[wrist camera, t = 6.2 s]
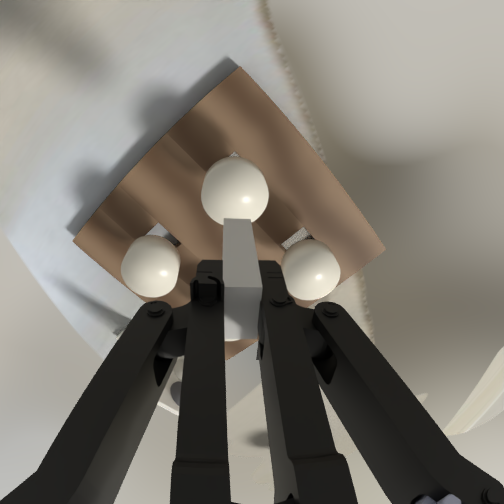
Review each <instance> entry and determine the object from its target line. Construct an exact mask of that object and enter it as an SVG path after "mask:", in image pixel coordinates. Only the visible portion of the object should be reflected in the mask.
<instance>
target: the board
mask: <svg viewBox="0 0 504 504" xmlns="http://www.w3.org/2000/svg"><path fill="white" fill-rule="evenodd" d="M234 151H235V152H236V153H237V154H238V155H239V156H240V157H243V158H246V159H248V160H250V161H252V162H253V163H255V164H256V165H257V166H258V167H259V168H260V170H261V171H262V173H263V176H264V178H265V181H266V184H267V187H268V192H269V198H268V203H267V206H266V208H265V210H264V212H263V213H262V214H261V216H260V217H259V218H257V219H256V220H255V221H253V222H252V223H251V224H252V229H253V235H254V241H255V247H256V252H257V258H258V260H275V261H276V262H277V263H278V264H279V265H280V266H281V260H282V257H283V255H284V253H285V252H286V249H285V248H284V247H283V246H282V245H281V244H282V243H283V242H284V241H286V240H287V239H288V238H289V237H291V236H292V235H293V234H295V233H296V232H297V231H298V230H300V229H301V228H302V227H305V228H306V230H307V231H308V232H309V233H310V234H311V235H312V236H313V238H314V239H315V240H319V241H321V242H323V243H325V244H326V245H327V246H328V247H329V248H330V250H331V251H332V253H333V255H334V257H335V259H336V261H337V262H338V264H339V267H340V279H339V281H338V283H337V285H336V287H337V286H338V285H339V284H341V283H342V282H343V281H345V280H346V279H348V278H349V277H350V276H352V275H353V274H354V273H356V272H357V271H358V270H360V269H361V268H362V267H364V266H365V265H366V264H367V263H369V262H370V261H371V260H373V259H374V258H375V257H377V256H378V255H379V254H381V253H382V252H383V251H385V250H386V248H385V247H384V245H383V244H382V242H381V241H380V239H379V238H378V236H377V235H376V233H375V232H374V231H373V229H372V228H371V226H370V225H369V223H368V222H367V220H366V219H365V217H364V216H363V215H362V213H361V212H360V210H359V209H358V208H357V206H356V205H355V203H354V202H353V201H352V199H351V198H350V197H349V195H348V194H347V192H346V191H345V190H344V189H343V187H342V186H341V184H340V183H339V182H338V180H337V179H336V178H335V176H334V175H333V174H332V172H331V171H330V170H329V169H328V167H327V166H326V165H325V163H324V162H323V161H322V160H321V158H320V157H319V156H318V155H317V153H316V152H315V151H314V150H313V148H312V147H311V146H310V145H309V143H308V142H307V141H306V140H305V138H304V137H303V136H302V135H301V134H300V132H299V131H298V130H297V129H296V128H295V126H294V125H293V124H292V123H291V122H290V121H289V119H288V118H287V117H286V116H285V115H284V114H283V112H282V111H281V110H280V109H279V108H278V107H277V106H276V104H275V103H274V102H273V101H272V100H271V99H270V98H269V97H268V95H267V94H266V93H265V92H264V91H263V90H262V89H261V88H260V87H259V86H258V84H257V83H256V82H255V81H254V80H253V79H252V78H251V77H250V76H249V75H248V74H247V73H246V72H245V71H244V70H243V69H242V67H241V66H240V67H239V68H238V69H236V70H235V71H234V72H233V73H231V74H230V75H229V76H228V77H227V78H226V79H224V80H223V81H222V82H221V83H220V84H219V85H217V86H216V87H215V88H214V89H213V90H212V91H211V92H209V93H208V94H207V95H206V96H205V97H204V98H203V99H202V100H200V101H199V102H198V103H197V104H196V105H195V106H194V107H193V108H192V109H191V110H190V111H189V112H188V113H186V114H185V115H184V116H183V117H182V118H181V119H180V120H179V121H178V122H177V123H176V124H175V125H174V126H173V127H172V128H171V129H170V130H169V131H168V132H167V133H166V134H165V135H164V136H163V137H162V138H161V139H160V140H159V141H158V142H157V143H156V144H155V145H154V146H153V147H152V148H151V149H150V150H149V151H148V152H147V153H146V154H145V155H144V157H143V158H142V159H141V160H140V161H139V162H138V163H137V164H136V165H135V166H134V167H133V168H132V170H131V171H130V172H129V173H128V174H127V175H126V176H125V177H124V178H123V180H122V181H121V182H120V183H119V184H118V185H117V186H116V188H115V189H114V190H113V191H112V192H111V193H110V195H109V196H108V197H107V198H106V199H105V201H104V202H103V203H102V204H101V205H100V207H99V208H98V209H97V210H96V211H95V213H94V214H93V215H92V216H91V218H90V219H89V220H88V221H87V223H86V224H85V225H84V226H83V228H82V229H81V230H80V232H79V233H78V234H77V236H76V237H75V238H74V240H73V242H74V243H75V244H76V245H77V246H78V247H79V248H80V249H82V250H83V251H84V252H85V253H86V254H87V255H88V256H90V257H91V258H92V259H93V260H94V261H95V262H97V263H98V264H99V265H100V266H101V267H103V268H104V269H105V270H106V271H107V272H109V273H110V274H111V275H112V276H113V277H115V278H116V279H117V280H118V281H119V282H121V283H122V284H123V285H124V286H126V287H127V288H128V289H129V290H131V289H130V288H129V287H128V286H127V285H126V283H125V282H124V280H123V278H122V275H121V264H122V261H123V259H124V257H125V255H126V253H127V251H128V249H129V247H130V246H131V244H132V243H133V242H134V241H135V240H136V239H138V238H139V237H142V236H145V235H146V234H147V233H148V232H149V231H150V230H151V229H152V228H153V227H154V226H155V225H156V224H157V223H158V222H159V223H160V224H161V225H162V226H163V227H164V228H165V229H166V230H167V231H169V232H170V233H171V234H172V235H173V236H174V237H175V238H176V239H177V240H179V242H178V243H177V244H176V245H175V247H176V249H177V250H178V253H179V255H180V268H179V272H178V277H177V281H176V284H175V286H174V288H173V289H172V290H171V291H170V292H169V293H167V294H166V295H163V296H160V297H145V296H142V295H139V294H137V293H135V292H134V291H132V290H131V291H132V292H133V293H134V294H136V295H137V296H138V297H139V298H141V299H142V300H143V301H145V302H146V303H147V302H149V301H155V300H157V301H164V302H167V303H168V304H169V305H171V307H172V308H176V307H180V306H183V305H185V304H187V303H189V302H190V301H191V296H190V282H191V280H192V279H193V278H194V277H196V271H197V265H198V264H199V263H200V262H201V260H222V257H223V225H222V224H219V223H217V222H216V221H214V220H213V219H212V218H211V217H210V216H209V215H208V214H207V213H206V211H205V209H204V207H203V205H202V200H201V191H202V186H203V182H204V178H205V175H206V173H207V171H208V170H209V168H210V167H211V166H212V165H213V164H214V163H216V162H217V161H219V160H221V159H223V158H226V157H229V156H230V155H231V154H232V153H233V152H234ZM288 294H289V295H290V296H291V297H293V298H294V300H295V302H296V304H297V305H299V306H302V307H305V308H307V307H309V306H310V305H311V304H313V303H314V302H316V301H317V300H318V299H315V300H301V299H298V298H296V297H294V296H293V295H291V294H290V293H289V291H288ZM319 299H320V298H319ZM258 340H259V337H258V336H257V339H239V340H236V341H225V360H228V359H230V358H231V357H233V356H235V355H236V354H238V353H239V352H241V351H243V350H244V349H246V348H247V347H249V346H250V345H252V344H253V343H255V342H256V341H258Z"/></svg>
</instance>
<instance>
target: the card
mask: <svg viewBox="0 0 504 504" xmlns="http://www.w3.org/2000/svg"><path fill="white" fill-rule="evenodd" d="M125 329H126V328H125ZM125 329H124V330H125ZM124 330H123V331H122V332H121V333H120V334H118V335H117V338H116V339H117V340H118V339H119V338H120V336H121V335H122V333H123V332H124ZM183 363H184V356H181V357H178V358H177V362H176V364H175V366H174V368H173V371H172V373H171V375H170V377H169V379H168V382H167V384H166V386H165V388H164V390H163V392H162V395H161V397H160V399H159V401H158V403H157V405H159V406H160V407H162V408H164V409H166V410H168V411H170V412H172V413H174V414H176V415H178V416H179V406H180V394H181V383H182V373H183Z"/></svg>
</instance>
